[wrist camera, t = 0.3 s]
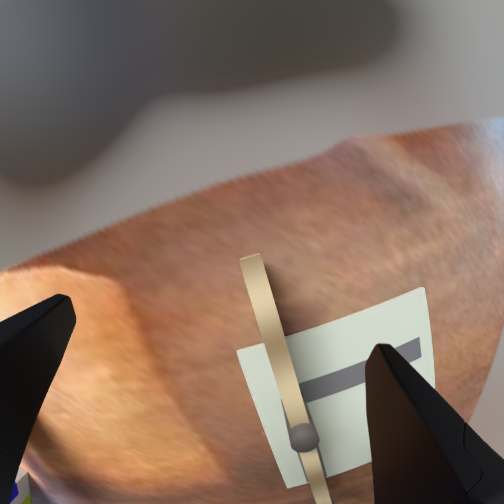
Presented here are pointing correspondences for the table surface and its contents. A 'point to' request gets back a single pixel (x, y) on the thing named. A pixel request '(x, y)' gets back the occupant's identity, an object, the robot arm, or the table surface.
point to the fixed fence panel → (316, 477)
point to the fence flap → (279, 356)
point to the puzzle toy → (21, 488)
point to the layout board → (337, 380)
